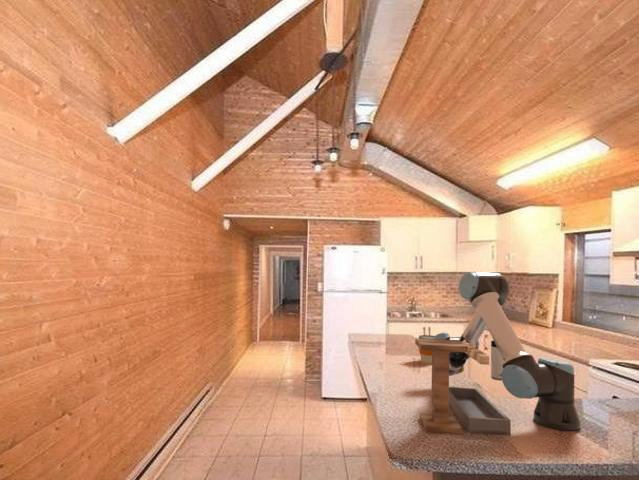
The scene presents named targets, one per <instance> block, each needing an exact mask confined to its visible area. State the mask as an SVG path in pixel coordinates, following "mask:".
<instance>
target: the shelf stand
mask: <svg viewBox="0 0 639 480" xmlns="http://www.w3.org/2000/svg"><path fill="white" fill-rule="evenodd" d="M414 340H415V342H414V343H415V346H417V348H418V349H419V348H420V350H421V351H432V364H431V409H430V410H431V413H419V421H421V422H420V423H421V424H422V427H423V428H424V431H425V433H426V434H427V433H428V434H429V433H430V434H446V435H447V434H448V435H451V434H452V435H462V434H463V428H462V427H461V425H460V424H459V422H458V421H457V420H456V417H454V415H453V414H450V406H449V387H450V376H449V352H468V346H466V345H465V344H463V343H462V342H460V341H459V340H447V339H419V337H418V338H414Z"/></svg>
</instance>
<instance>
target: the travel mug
mask: <svg viewBox="0 0 639 480" xmlns="http://www.w3.org/2000/svg"><path fill="white" fill-rule="evenodd" d="M503 362H504V360H503V358H502V356H501V354H500V352H499V350H498V348H497V346H496V344H495V342H494V340H491V341H490V378H491V380H494V381H502V377H503V376H502V370H503V367H502V365H503Z"/></svg>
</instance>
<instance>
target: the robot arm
mask: <svg viewBox="0 0 639 480" xmlns="http://www.w3.org/2000/svg"><path fill="white" fill-rule="evenodd" d="M510 290H511V288H510V284H509V281H508V280H507V277H505V276H504V275H503V274H501V273H498V272H492V271H491V272H476V271H471V272H466V273H464V274H463V275H462V276H461V277H460V280H459V284H458V292H459V295H460V296H461V298H462V299H465V300H467V301H468V300H469V301H470V302H469V303H470V304H471V307H473V308H476V310H475V312H474V314H473V315H472V317H471V319H470V320H469V323H468V324H467V325H466V327H465V329H464V331H463V332H462V334H461V336H456V337H453V336H452V337H451V336H450V334H449V333H448V332H440V333H437V334H436V335H434V336H435V337H434V339H447V340H459V341H460V342H462V343H463V344H465V345H466V346H467V344H466V342H468V343H470V344H471V345H473V346H474V347H476V348H477V349H479V348H480V347H479V346H480V341H479V339H480V338H481V336H482V335H483V333H484V332H485V330H486V328H487V330H488V332H489V334H490V335H491V338H492V341H494V342H495V344H496V346H497V348H498V350H499V352H500V354H501V356H502V358H503V360H504V362H503V365H502V367H503V370H502V376H503V377H502V380H501V381H502V385H503V386H504V388H505V389H506V391H507V392H508V393H509V394H511V396H513V397H515V398H517V399H528V400H530V399H534V398H538V399H537V403H536V405H535V407H534V411H533V420H534V421H535V422H536V423H538V424H540V425H541V426H545V427H547V428H550V429H553V430H559V431H566V432H567V431H571V432H572V431H578V430H581V419H580V416H579V413H578V411H577V408H576V405H575V377H576V376H575V370H574V366H573V365H572V364H571V363H570V362H566V361H562V360H558V359H554V358H548V357H539V358H538V360H537V361H536V359H535V358H534V355H532V354H530V353H528V352H526V350H525V348H524V346H523V344H522V343H521V341H520V339H519V337H518V335H517V333H516V332H515V330H514V328H513V326H512V324H511V322H510V320H509V319H508V317H507V316H506V314H505V312H504V310H503V307H502V306H504V305H505V303H506V302H507V300H508V298H509V295H510ZM470 358H471V359H472V360H474V359H473V358H472V357H470V356H469V355H468V354H466V353H465V352H449V377H451V376H452V377H453V376H454V375H456V374H457V372H458V370H459V369H460V368H461V367H462V366H463V365H465V364H466V362H467V360H468V359H470ZM458 373H459V372H458Z"/></svg>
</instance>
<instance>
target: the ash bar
mask: <svg viewBox="0 0 639 480" xmlns="http://www.w3.org/2000/svg"><path fill="white" fill-rule="evenodd" d="M466 344H467V346H468V352H465V353H466V354H468V355H469V356H470V358H471V357H472V358H473V359H472V358H471V359H472V360H474V361H476V362H477V363H478V364H480V365H483V366H485V365H488V366H489V365H490V356H489V355H488V354H486V352H484V351H482V350H480V349H479V348H478V349H477V348H476V347H474V346H473V345H471V344H470V343H468V342H466Z"/></svg>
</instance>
